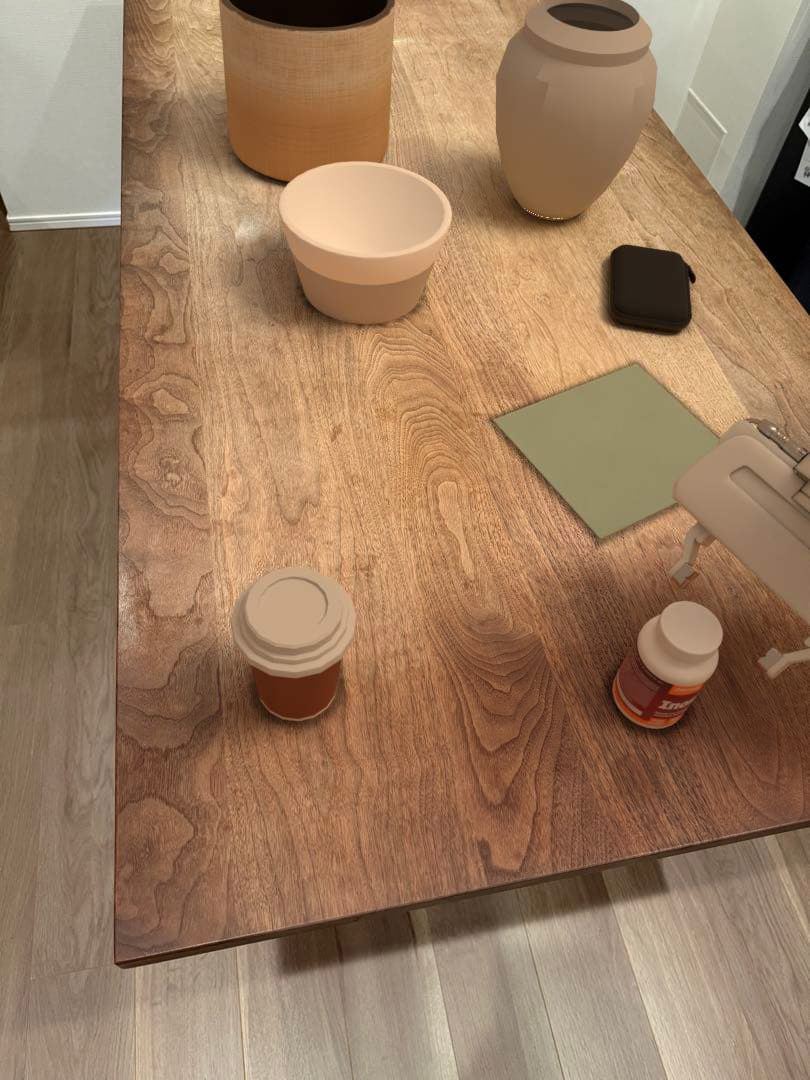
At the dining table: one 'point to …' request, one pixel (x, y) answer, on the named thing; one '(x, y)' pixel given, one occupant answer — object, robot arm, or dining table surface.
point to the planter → (307, 82)
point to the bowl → (364, 237)
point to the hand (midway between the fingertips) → (718, 624)
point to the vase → (572, 102)
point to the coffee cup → (294, 638)
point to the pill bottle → (668, 665)
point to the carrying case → (650, 288)
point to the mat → (611, 446)
